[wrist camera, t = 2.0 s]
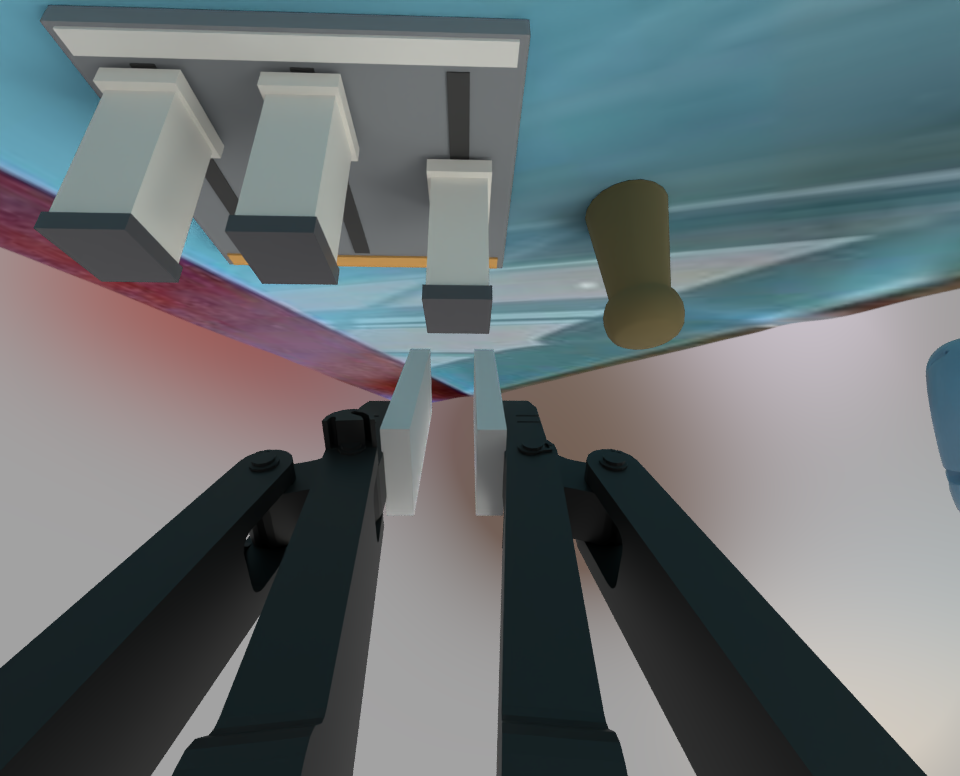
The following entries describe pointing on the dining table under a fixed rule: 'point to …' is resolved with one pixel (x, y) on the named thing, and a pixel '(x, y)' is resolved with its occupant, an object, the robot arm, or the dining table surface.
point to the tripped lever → (458, 247)
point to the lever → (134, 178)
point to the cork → (635, 264)
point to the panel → (370, 95)
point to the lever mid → (296, 180)
